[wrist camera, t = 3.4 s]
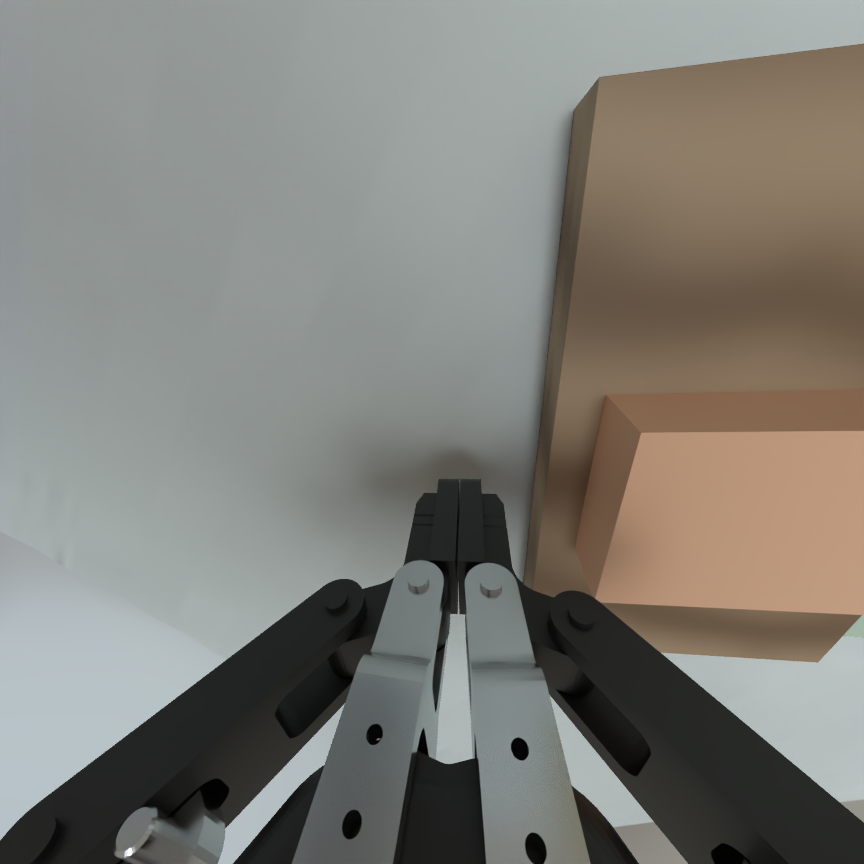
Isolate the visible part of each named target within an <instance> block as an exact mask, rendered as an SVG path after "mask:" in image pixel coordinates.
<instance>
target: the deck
mask: <svg viewBox="0 0 864 864" xmlns="http://www.w3.org/2000/svg"><path fill="white" fill-rule="evenodd" d="M852 389H864V44H858V45H850V46H842V47H834V48H826V49H818V50H810V51H802V52H794V53H787V54H779V55H771V56H763V57H755V58H747V59H739V60H731V61H723V62H715V63H707V64H700V65H692V66H684V67H676V68H668V69H660V70H652V71H644V72H636V73H628V74H620V75H612V76H605V77H599V78H598V80H597V81H596V82H595V84H594V85H593V86H592V87H591V89H590V90H589V91H588V93H587V94H586V95H585V96H584V98H583V99H582V100H581V102H580V103H579V104H578V105H577V107H576V108H575V109H574V116H573V125H572V135H571V144H570V153H569V163H568V172H567V181H566V191H565V200H564V209H563V219H562V228H561V237H560V247H559V256H558V265H557V275H556V284H555V293H554V302H553V312H552V321H551V330H550V340H549V349H548V358H547V368H546V377H545V386H544V396H543V405H542V414H541V424H540V433H539V442H538V452H537V461H536V470H535V480H534V489H533V498H532V508H531V517H530V526H529V536H528V545H527V554H526V564H525V573H524V582H523V584H524V585H526V586H527V587H528V588H530V589H532V590H534V591H537V592H539V593H542V594H545V595H548V596H551V597H555V596H556V595H557V594H559V593H561V592H564V591H569V590H574V591H580V592H583V593H586V594H588V595H590V596H592V595H591V592H590V589H589V586H588V583H587V581H586V578H585V575H584V572H583V569H582V566H581V563H580V561H579V558H578V555H577V552H576V549H575V544H576V539H577V534H578V529H579V524H580V520H581V515H582V510H583V505H584V500H585V495H586V490H587V486H588V481H589V476H590V471H591V466H592V461H593V456H594V452H595V447H596V442H597V437H598V432H599V427H600V423H601V418H602V413H603V408H604V403H605V398H606V395H613V394H661V393H709V392H757V391H804V390H852ZM600 603H601V602H600ZM601 604H603V605H604V606H605V607H606V608H607V609H609V610H610V611H611V612H612V613H613V614H615V615H616V616H617V617H618V618H619V619H621V620H622V621H623V622H624V623H625V624H627V625H628V626H629V627H630V628H631V629H633V630H634V631H635V632H636V633H637V634H639V635H640V636H641V637H642V638H643V639H645V640H646V641H647V642H648V643H649V644H651V645H652V646H653V647H654V648H655V649H657V650H658V651H659V652H662V653H678V654H693V655H709V656H725V657H741V658H757V659H772V660H788V661H804V662H819V661H820V660H821V659H822V657H823V656H824V655H825V654H826V653H827V652H828V651H829V650H830V649H831V648H832V647H833V646H834V645H835V644H836V643H837V641H838V640H839V639H840V638H841V637H842V636H843V635H844V634H845V633H846V632H847V631H848V630H849V629H850V628H851V627H852V625H853V624H854V623H855V622H856V621H857V620H858V619H859V618H860V617H861V616H862V615H851V614H830V613H810V612H789V611H768V610H747V609H726V608H705V607H685V606H664V605H643V604H622V603H601Z"/></svg>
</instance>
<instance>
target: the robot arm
mask: <svg viewBox="0 0 864 864" xmlns="http://www.w3.org/2000/svg"><path fill="white" fill-rule="evenodd" d="M458 581H459V609H460V614H465V623H466V652H467V668H468V683H469V698H470V714H471V733H472V752H473V759H470V760H466V761H462V762H458V763H454V764H444V763H441V762H439V761H437V760H435V759H436V749H437V735H438V716H439V707H440V699H441V691H442V683H443V675H444V667H445V660H446V652H447V644H448V635H449V627H450V614H457V612H458ZM549 694H550V695H549ZM550 696H551V697H552V698H553V699H554V701H555V702H556V703H557V704H558V705H559V707H560V708H561V709H562V710H563V712H564V713H565V714H566V715H567V716H568V718H569V719H570V720H571V721H572V722H573V724H574V725H575V726H576V727H577V729H578V730H579V731H580V732H581V733H582V735H583V736H584V737H585V738H586V740H587V741H588V742H589V743H590V744H591V746H592V747H593V748H594V749H595V750H596V752H597V753H598V754H599V755H600V757H601V758H602V759H603V760H604V761H605V763H606V764H607V765H608V766H609V768H610V769H611V770H612V771H613V772H614V774H615V775H616V776H617V777H618V778H619V780H620V781H621V782H622V783H623V785H624V786H625V787H626V788H627V789H628V791H629V792H630V793H631V794H632V796H633V797H634V798H635V799H636V800H637V802H638V803H639V804H640V805H641V806H642V808H643V809H644V810H645V811H646V813H647V814H648V815H649V816H650V817H651V819H652V820H653V821H654V822H655V824H656V825H657V826H658V827H659V828H660V830H661V831H662V832H663V833H664V834H665V836H666V837H667V838H668V839H669V840H670V842H671V843H672V844H673V845H674V847H675V848H676V849H677V850H678V851H679V853H680V854H681V855H682V856H683V858H684V859H685V860H686V861H687V862H688V864H864V823H863V822H862V821H861V820H860V819H858V818H857V817H856V816H855V815H854V814H853V813H851V812H850V811H849V810H848V809H847V808H845V807H844V806H843V805H842V804H841V803H839V802H838V801H837V800H836V799H835V798H833V797H832V796H831V795H830V794H829V793H828V792H826V791H825V790H824V789H823V788H822V787H820V786H819V785H818V784H817V783H816V782H814V781H813V780H812V779H811V778H810V777H808V776H807V775H806V774H805V773H804V772H802V771H801V770H800V769H799V768H798V767H796V766H795V765H794V764H793V763H792V762H790V761H789V760H788V759H787V758H786V757H784V756H783V755H782V754H781V753H780V752H778V751H777V750H776V749H775V748H774V747H773V746H771V745H770V744H769V743H768V742H767V741H765V740H764V739H763V738H762V737H761V736H759V735H758V734H757V733H756V732H755V731H753V730H752V729H751V728H750V727H749V726H747V725H746V724H745V723H744V722H743V721H741V720H740V719H739V718H738V717H737V716H735V715H734V714H733V713H732V712H731V711H729V710H728V709H727V708H726V707H725V706H723V705H722V704H721V703H720V702H719V701H717V700H716V699H715V698H714V697H713V696H712V695H710V694H709V693H708V692H707V691H706V690H704V689H703V688H702V687H701V686H700V685H698V684H697V683H696V682H695V681H694V680H692V679H691V678H690V677H689V676H688V675H686V674H685V673H684V672H683V671H682V670H680V669H679V668H678V667H677V666H676V665H674V664H673V663H672V662H671V661H670V660H668V659H667V658H666V657H665V656H664V655H662V654H661V653H660V652H659V651H658V650H657V649H655V648H654V647H653V646H652V645H651V644H649V643H648V642H647V641H646V640H645V639H643V638H642V637H641V636H640V635H639V634H637V633H636V632H635V631H634V630H633V629H631V628H630V627H629V626H628V625H627V624H625V623H624V622H623V621H622V620H621V619H619V618H618V617H617V616H616V615H615V614H613V613H612V612H611V611H610V610H609V609H607V608H606V607H605V606H604V605H603V604H601V603H600V602H599V601H598V600H596V599H595V598H594V597H592V596H590V595H588V594H586V593H583V592H580V591H574V590H569V591H564V592H561V593H559V594H557V595H556V596H555V597H551V596H548V595H545V594H542V593H539V592H537V591H534V590H532V589H530V588H528V587H527V586H526V585H524V584H523V583H522V582H521V581H520V580H519V579H518V578H517V577H516V575H515V573H514V571H513V569H512V564H511V556H510V549H509V541H508V534H507V528H506V519H505V512H504V504H503V503H502V502H501V500H500V499H499V497H498V496H497V495H496V494H482V492H481V479H461V484H460V490H459V479H439V482H438V490H437V493H424V494H423V495H422V497H421V498H420V499H419V500H418V502H417V503H416V508H415V513H414V518H413V523H412V528H411V533H410V538H409V543H408V548H407V553H406V558H405V562H404V565H403V567H401V568H400V569H399V570H398V571H397V573H396V575H395V577H394V578H392V579H391V580H389V581H387V582H385V583H383V584H380V585H376V586H372V587H368V588H365V589H362V588H361V586H360V585H359V584H358V583H357V582H355V581H353V580H349V579H339V580H335V581H332V582H330V583H328V584H326V585H325V586H323V587H322V588H321V589H319V590H318V591H317V592H315V593H314V594H313V595H311V596H310V597H309V598H308V599H306V600H305V601H304V602H302V603H301V604H300V605H298V606H297V607H296V608H294V609H293V610H292V611H290V612H289V613H288V614H286V615H285V616H284V617H283V618H281V619H280V620H279V621H277V622H276V623H275V624H273V625H272V626H271V627H269V628H268V629H267V630H265V631H264V632H263V633H261V634H260V635H259V636H257V637H256V638H255V639H254V640H252V641H251V642H250V643H248V644H247V645H246V646H244V647H243V648H242V649H240V650H239V651H238V652H236V653H235V654H234V655H232V656H231V657H230V658H229V659H227V660H226V661H225V662H223V663H222V664H221V665H219V666H218V667H217V668H215V669H214V670H213V671H211V672H210V673H209V674H207V675H206V676H205V677H203V678H202V679H201V680H200V681H198V682H197V683H196V684H194V685H193V686H192V687H190V688H189V689H188V690H186V691H185V692H184V693H182V694H181V695H180V696H178V697H177V698H176V699H175V700H173V701H172V702H171V703H169V704H168V705H167V706H165V707H164V708H163V709H161V710H160V711H159V712H157V713H156V714H155V715H153V716H152V717H151V718H150V719H148V720H147V721H146V722H144V723H143V724H142V725H140V726H139V727H138V728H136V729H135V730H134V731H132V732H131V733H130V734H128V735H127V736H126V737H125V738H123V739H122V740H121V741H119V742H118V743H117V744H115V745H114V746H113V747H112V748H110V749H109V750H107V751H106V752H105V753H103V754H102V755H101V756H99V757H98V758H97V759H95V760H94V761H93V762H92V763H90V764H89V765H88V766H86V767H85V768H84V769H82V770H81V771H80V772H78V773H77V774H76V775H74V776H73V777H72V778H70V779H69V780H68V781H67V782H65V783H64V784H63V785H61V786H60V787H59V788H58V789H56V790H55V791H54V792H52V793H51V794H49V795H48V796H47V797H45V798H44V799H43V800H41V801H40V802H39V803H38V804H36V805H35V806H34V807H33V808H31V809H30V810H29V811H28V812H27V813H26V814H25V815H24V816H23V817H22V818H20V819H19V820H18V821H17V822H16V823H15V824H14V826H13V827H12V828H11V829H10V830H9V831H8V832H7V833H6V835H5V836H4V837H3V838H2V839H1V840H0V864H217V863H218V861H219V858H220V855H221V852H222V849H223V844H224V839H225V828H226V827H227V826H228V825H229V824H230V823H231V822H232V821H233V820H234V819H235V818H236V817H237V816H238V815H239V814H240V813H241V811H242V810H243V809H244V808H245V807H246V806H247V805H248V804H249V803H250V802H251V801H252V800H253V799H254V798H255V797H256V796H257V795H258V794H259V793H260V792H261V790H262V789H263V788H264V787H265V786H266V785H267V784H268V783H269V782H270V781H271V780H272V779H273V778H274V777H275V776H276V775H277V774H278V773H279V772H280V770H282V768H283V767H284V766H285V765H286V764H287V763H288V762H289V761H290V760H291V759H292V758H293V757H294V756H295V755H296V754H297V753H298V752H299V751H300V749H302V747H303V746H304V745H305V744H306V743H307V742H308V741H309V740H310V739H311V738H312V737H313V736H314V735H315V734H316V733H317V732H318V731H319V730H320V729H321V728H322V727H323V725H324V724H325V723H326V722H327V721H328V720H329V719H330V718H331V717H332V716H333V715H334V714H335V713H336V712H337V711H338V710H339V709H340V708H341V707H342V706H343V704H344V703H345V705H344V708H343V711H342V714H341V717H340V720H339V724H338V726H337V729H336V732H335V735H334V738H333V741H332V744H331V748H330V750H329V754H328V756H327V759H326V762H325V765H324V766H322V767H321V768H319V769H318V770H317V771H316V772H314V773H313V774H312V775H310V776H309V778H307V779H306V780H305V781H304V782H303V783H302V784H301V785H300V786H299V787H298V788H297V789H296V790H295V791H294V793H293V794H292V795H291V796H290V797H289V798H288V800H287V801H286V802H285V803H284V804H283V805H282V807H281V808H280V809H279V810H278V811H277V813H276V814H275V815H274V816H273V817H272V818H271V820H270V821H269V822H268V823H267V824H266V826H265V827H264V828H263V829H262V830H261V831H260V833H259V834H258V835H257V836H256V837H255V839H254V840H253V841H252V842H251V843H250V845H249V846H248V847H247V848H246V849H245V850H244V851H243V853H242V854H241V855H240V856H239V857H238V859H237V860H236V861H235V862H234V863H233V864H639V863H638V862H637V860H636V859H635V858H634V856H633V855H632V853H631V852H630V851H629V849H628V848H627V846H626V845H625V843H624V842H623V841H622V839H621V838H620V836H619V835H618V834H617V832H616V831H615V829H614V828H613V827H612V825H611V824H610V823H609V822H608V821H607V819H606V818H605V817H604V816H603V815H602V814H601V812H600V811H599V810H598V809H597V808H596V807H595V806H594V805H593V804H592V803H591V802H590V801H589V800H588V799H587V798H586V797H585V796H584V795H583V794H581V793H580V792H579V791H578V790H576V789H575V788H574V787H573V786H572V785H571V781H570V777H569V773H568V769H567V765H566V761H565V757H564V753H563V749H562V744H561V740H560V736H559V732H558V728H557V724H556V720H555V716H554V712H553V708H552V704H551V699H550Z"/></svg>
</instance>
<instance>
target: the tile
mask: <svg viewBox="0 0 864 864" xmlns="http://www.w3.org/2000/svg"><path fill="white" fill-rule="evenodd" d="M575 549H576V552H577V555H578V558H579V561H580V563H581V566H582V569H583V572H584V575H585V578H586V581H587V583H588V586H589V589H590V592H591V595H592V597H594V598H595V599H596V600H598V601H599V602H601V603H622V604H643V605H664V606H685V607H705V608H726V609H747V610H768V611H789V612H810V613H830V614H851V615H864V389H852V390H804V391H757V392H709V393H661V394H613V395H606V398H605V403H604V408H603V413H602V418H601V423H600V427H599V432H598V437H597V442H596V447H595V452H594V456H593V461H592V466H591V471H590V476H589V481H588V486H587V490H586V495H585V500H584V505H583V510H582V515H581V520H580V524H579V529H578V534H577V539H576V544H575Z"/></svg>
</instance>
